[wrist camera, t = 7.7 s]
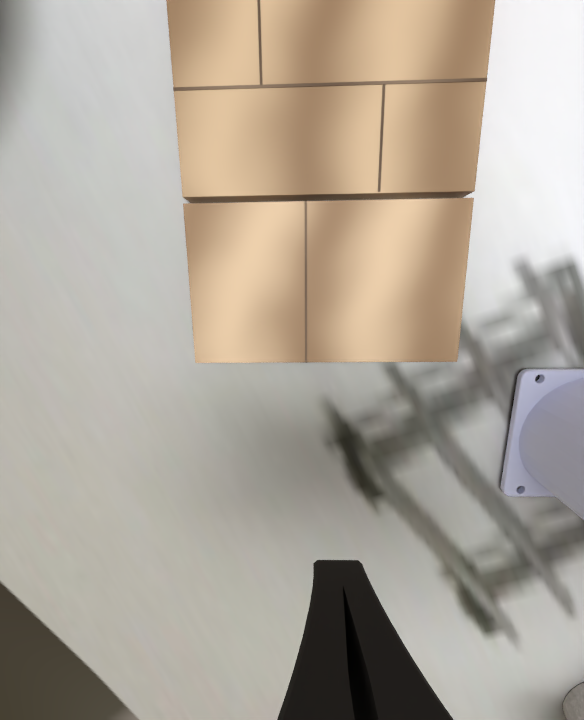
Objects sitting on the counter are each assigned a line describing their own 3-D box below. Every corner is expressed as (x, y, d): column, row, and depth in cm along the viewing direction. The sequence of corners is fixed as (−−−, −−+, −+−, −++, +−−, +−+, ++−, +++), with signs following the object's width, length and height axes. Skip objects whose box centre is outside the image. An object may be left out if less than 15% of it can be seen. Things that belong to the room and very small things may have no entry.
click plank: (461, 204, 17) (474, 197, 15) (447, 356, 18) (457, 361, 17) (191, 209, 17) (182, 203, 16) (202, 358, 19) (195, 362, 18)
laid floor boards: (484, -23, 14) (501, -51, 13) (462, 197, 17) (474, 190, 15) (174, -10, 15) (163, -36, 14) (190, 202, 17) (182, 196, 16)
